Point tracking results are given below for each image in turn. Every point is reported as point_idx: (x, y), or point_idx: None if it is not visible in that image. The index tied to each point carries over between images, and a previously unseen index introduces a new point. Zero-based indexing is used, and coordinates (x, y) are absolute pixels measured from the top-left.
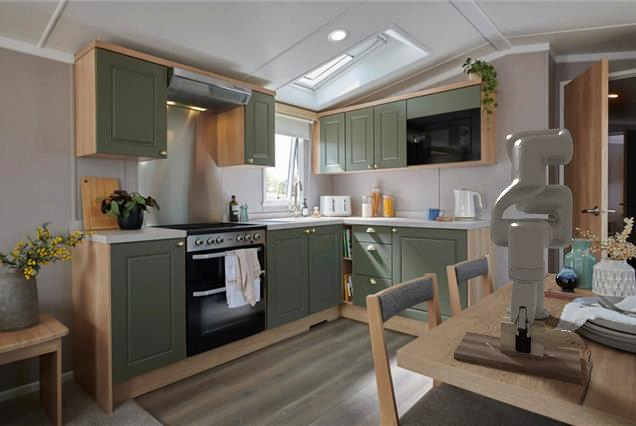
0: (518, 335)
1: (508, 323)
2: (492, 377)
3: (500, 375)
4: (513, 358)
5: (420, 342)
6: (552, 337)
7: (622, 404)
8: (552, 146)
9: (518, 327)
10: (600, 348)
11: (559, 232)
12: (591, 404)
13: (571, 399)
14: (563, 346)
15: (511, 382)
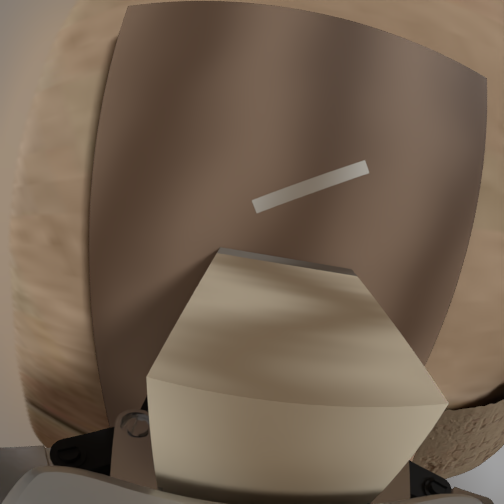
0: (127, 421)
1: (155, 439)
2: (23, 203)
3: (46, 232)
4: (159, 309)
5: None
6: (461, 434)
7: None
8: None
9: (57, 463)
10: None
11: None
12: (44, 421)
13: (35, 395)
14: (420, 448)
15: (22, 268)
